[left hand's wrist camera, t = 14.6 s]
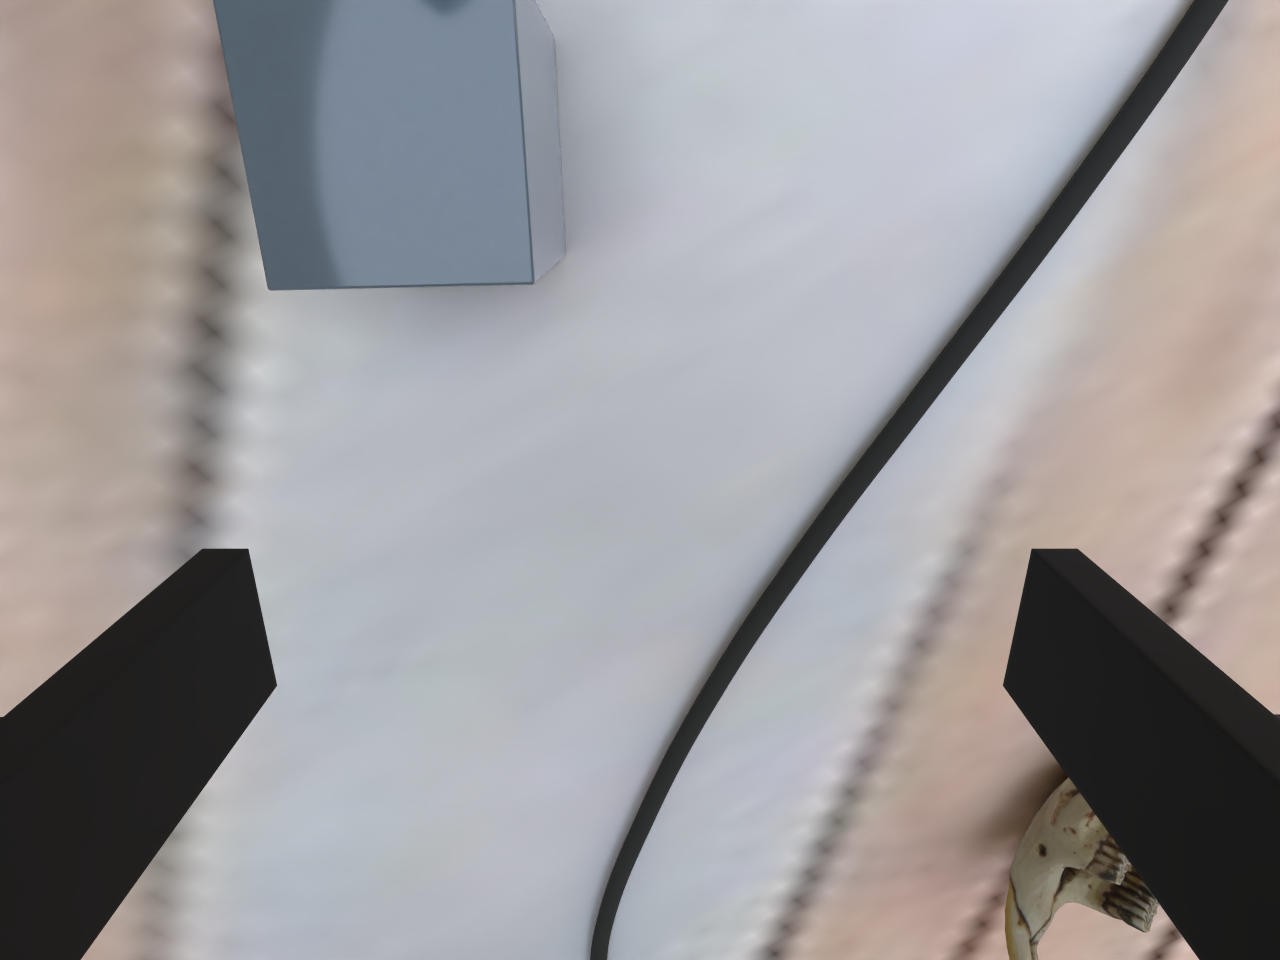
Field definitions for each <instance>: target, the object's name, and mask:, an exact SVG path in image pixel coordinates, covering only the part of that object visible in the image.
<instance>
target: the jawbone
mask: <svg viewBox="0 0 1280 960" xmlns="http://www.w3.org/2000/svg"><path fill="white" fill-rule="evenodd" d="M1069 902H1075V903H1080V904H1082V905H1085V906H1088V907H1090V908H1093V909H1095V910H1097V911H1099V912H1101V913H1104V914H1106V915H1108V916H1111V917H1113V918H1116V919H1120V920H1123V921H1124V922H1125V923H1127V924H1128V925H1130V926H1132V927H1134V928H1136V929H1138V930H1140V931H1142V932H1148V931H1150V927H1151V923H1152V920H1153V916H1154V915H1156V914H1157V909H1156V908H1157V907H1158V906H1160V904H1159V903H1158V901H1157V900H1156V898H1155V897H1154V896H1153V894H1152V893H1151V891H1150V890H1149V889H1148V887H1147V886H1146V884H1145V883H1144V882H1143V880H1142V879H1141V877H1140V876H1139V875H1138V873H1137V872H1136V870H1135V869H1134V868H1133V866H1132V865H1131V863H1130V862H1129V861H1128V859H1127V858H1126V857H1125V855H1124V854H1123V852H1122V851H1121V850H1120V848H1119V847H1118V845H1117V844H1116V843H1115V841H1114V840H1113V838H1112V837H1111V836H1110V834H1109V833H1108V831H1107V830H1106V829H1105V827H1104V826H1103V824H1102V823H1101V822H1100V820H1099V819H1098V817H1097V816H1096V815H1095V813H1094V812H1093V810H1092V809H1091V808H1090V806H1089V805H1088V803H1087V802H1086V801H1085V799H1084V798H1083V797H1082V795H1081V794H1080V792H1079V791H1078V790H1077V788H1076V787H1075V785H1074V784H1073V783H1072V781H1071V780H1070V778H1069V777H1068V778H1067V779H1066V780H1065V781H1064V782H1063V783H1062V784H1061V785H1060V786H1059V787H1058V788H1057V789H1056V790H1055V791H1054V792H1053V793H1052V794H1051V795H1050V796H1049V798H1048V799H1047V800H1046V802H1045V803H1044V804H1043V806H1042V807H1041V809H1040V810H1039V811H1038V813H1037V814H1036V816H1035V817H1034V819H1033V821H1032V822H1031V824H1030V826H1029V827H1028V829H1027V831H1026V833H1025V835H1024V837H1023V839H1022V841H1021V843H1020V845H1019V847H1018V850H1017V852H1016V855H1015V857H1014V859H1013V862H1012V865H1011V867H1010V879H1009V890H1008V896H1007V901H1006V907H1005V934H1006V942H1007V949H1008V954H1009V959H1010V960H1038V956H1037V945H1038V942H1039V940H1040V939H1041V938H1042V936H1043V935H1044V933H1045V932H1046V930H1047V928H1048V927H1049V925H1050V923H1051V921H1052V919H1053V917H1054V914H1055V913H1056V911H1057V910H1058V909H1059V908H1060V907H1061V906H1062V905H1064V904H1065V903H1069Z"/></svg>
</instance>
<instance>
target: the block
mask: <svg viewBox="0 0 1280 960" xmlns="http://www.w3.org/2000/svg"><path fill="white" fill-rule="evenodd" d="M213 2H214V7H215V13H216V18H217V23H218V28H219V34H220V39H221V44H222V49H223V55H224V60H225V65H226V71H227V76H228V81H229V86H230V92H231V97H232V102H233V107H234V113H235V118H236V123H237V128H238V134H239V139H240V144H241V149H242V155H243V160H244V165H245V170H246V176H247V181H248V186H249V191H250V197H251V202H252V207H253V212H254V218H255V223H256V228H257V234H258V239H259V244H260V249H261V255H262V260H263V265H264V270H265V276H266V281H267V286H268V289H269V290H271V291H277V290H321V289H364V288H408V287H452V286H495V285H532V284H534V283H535V282H536V281H538V280H539V279H540V278H541V277H542V276H543V275H544V274H545V273H546V272H547V271H549V270H550V269H551V268H552V267H553V266H554V265H555V264H556V263H557V262H559V261H560V260H561V259H562V258H563V257H564V256H565V255H566V248H565V229H564V211H563V192H562V174H561V155H560V137H559V118H558V100H557V81H556V63H555V44H554V35H553V33H552V31H551V29H550V28H549V26H548V24H547V22H546V20H545V18H544V16H543V14H542V12H541V11H540V9H539V7H538V5H537V3H536V1H535V0H213Z"/></svg>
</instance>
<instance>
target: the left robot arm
mask: <svg viewBox="0 0 1280 960" xmlns="http://www.w3.org/2000/svg"><path fill="white" fill-rule="evenodd" d="M1227 2H1228V0H1195V1H1194V2H1193V4H1192V5H1191V7H1190V8H1189V10H1188V12H1187V13H1186V15H1185V16H1184V18H1183V19H1182V21H1181V22H1180V24H1179V25H1178V27H1177V28H1176V30H1175V31H1174V33H1173V34H1172V36H1171V37H1170V39H1169V40H1168V42H1167V43H1166V45H1165V46H1164V48H1163V49H1162V51H1161V52H1160V54H1159V55H1158V57H1157V58H1156V59H1155V61H1154V62H1153V64H1152V65H1151V67H1150V68H1149V70H1148V71H1147V73H1146V74H1145V76H1144V77H1143V78H1142V80H1141V81H1140V83H1139V84H1138V86H1137V87H1136V89H1135V90H1134V91H1133V93H1132V94H1131V96H1130V97H1129V99H1128V100H1127V101H1126V103H1125V104H1124V106H1123V107H1122V109H1121V110H1120V111H1119V113H1118V114H1117V116H1116V117H1115V118H1114V120H1113V121H1112V123H1111V124H1110V125H1109V127H1108V128H1107V130H1106V131H1105V132H1104V134H1103V135H1102V137H1101V138H1100V139H1099V141H1098V142H1097V144H1096V145H1095V146H1094V148H1093V149H1092V151H1091V152H1090V153H1089V155H1088V156H1087V158H1086V159H1085V160H1084V162H1083V163H1082V165H1081V166H1080V167H1079V169H1078V170H1077V171H1076V173H1075V174H1074V176H1073V177H1072V178H1071V180H1070V181H1069V183H1068V184H1067V185H1066V187H1065V188H1064V190H1063V191H1062V192H1061V194H1060V195H1059V197H1058V198H1057V199H1056V201H1055V202H1054V203H1053V205H1052V206H1051V208H1050V209H1049V210H1048V212H1047V213H1046V214H1045V216H1044V217H1043V219H1042V220H1041V221H1040V223H1039V224H1038V225H1037V227H1036V228H1035V230H1034V231H1033V232H1032V234H1031V235H1030V236H1029V238H1028V239H1027V240H1026V242H1025V243H1024V244H1023V246H1022V247H1021V248H1020V250H1019V251H1018V252H1017V254H1016V255H1015V256H1014V258H1013V259H1012V260H1011V262H1010V263H1009V265H1008V266H1007V267H1006V268H1005V270H1004V271H1003V272H1002V274H1001V275H1000V276H999V278H998V279H997V280H996V282H995V283H994V284H993V286H992V287H991V288H990V290H989V291H988V292H987V294H986V295H985V296H984V297H983V299H982V300H981V301H980V303H979V304H978V305H977V307H976V308H975V309H974V311H973V312H972V313H971V314H970V316H969V317H968V318H967V320H966V321H965V322H964V324H963V325H962V326H961V328H960V329H959V330H958V331H957V333H956V334H955V335H954V337H953V338H952V339H951V341H950V342H949V343H948V345H947V346H946V347H945V348H944V350H943V351H942V352H941V354H940V355H939V356H938V358H937V359H936V360H935V362H934V363H933V364H932V366H931V367H930V368H929V370H928V371H927V372H926V374H925V375H924V376H923V378H922V379H921V380H920V382H919V383H918V384H917V386H916V387H915V388H914V390H913V391H912V392H911V394H910V395H909V396H908V398H907V399H906V400H905V402H904V403H903V404H902V405H901V407H900V408H899V409H898V411H897V412H896V413H895V415H894V416H893V417H892V419H891V420H890V421H889V423H888V424H887V425H886V427H885V428H884V429H883V430H882V432H881V433H880V434H879V436H878V437H877V438H876V440H875V441H874V442H873V444H872V445H871V446H870V448H869V449H868V450H867V451H866V453H865V454H864V455H863V457H862V458H861V459H860V461H859V462H858V463H857V465H856V466H855V467H854V469H853V470H852V471H851V473H850V474H849V475H848V477H847V478H846V479H845V481H844V482H843V483H842V485H841V486H840V487H839V489H838V490H837V491H836V493H835V494H834V495H833V497H832V498H831V499H830V501H829V502H828V503H827V505H826V506H825V508H824V509H823V510H822V512H821V513H820V514H819V516H818V517H817V519H816V520H815V521H814V523H813V524H812V525H811V527H810V528H809V530H808V531H807V532H806V534H805V535H804V537H803V538H802V540H801V541H800V542H799V544H798V545H797V547H796V548H795V549H794V551H793V552H792V554H791V555H790V557H789V558H788V559H787V561H786V562H785V564H784V565H783V566H782V568H781V569H780V571H779V572H778V574H777V575H776V576H775V578H774V579H773V581H772V582H771V584H770V585H769V586H768V588H767V589H766V591H765V592H764V594H763V595H762V597H761V598H760V599H759V601H758V602H757V604H756V605H755V607H754V608H753V610H752V611H751V613H750V614H749V616H748V617H747V619H746V620H745V622H744V623H743V625H742V626H741V628H740V629H739V631H738V632H737V634H736V635H735V637H734V639H733V640H732V642H731V643H730V645H729V646H728V648H727V650H726V651H725V653H724V654H723V656H722V658H721V659H720V661H719V662H718V664H717V666H716V667H715V669H714V671H713V672H712V674H711V676H710V677H709V679H708V681H707V682H706V684H705V686H704V687H703V689H702V691H701V692H700V694H699V696H698V697H697V699H696V701H695V703H694V704H693V706H692V708H691V709H690V711H689V713H688V715H687V716H686V718H685V720H684V722H683V724H682V725H681V727H680V729H679V731H678V732H677V734H676V736H675V738H674V740H673V742H672V744H671V745H670V747H669V749H668V751H667V753H666V755H665V757H664V759H663V761H662V763H661V765H660V767H659V769H658V771H657V773H656V775H655V777H654V779H653V781H652V783H651V785H650V787H649V790H648V792H647V794H646V796H645V798H644V800H643V802H642V805H641V807H640V809H639V811H638V813H637V816H636V818H635V820H634V822H633V824H632V827H631V829H630V831H629V833H628V835H627V838H626V840H625V842H624V844H623V847H622V849H621V851H620V854H619V856H618V858H617V861H616V863H615V866H614V868H613V871H612V873H611V876H610V879H609V882H608V884H607V887H606V890H605V893H604V897H603V900H602V903H601V907H600V910H599V914H598V918H597V922H596V926H595V930H594V935H593V941H592V947H591V958H590V960H607V953H608V945H609V939H610V934H611V929H612V926H613V922H614V918H615V915H616V912H617V908H618V905H619V902H620V899H621V896H622V894H623V891H624V888H625V886H626V883H627V880H628V878H629V876H630V873H631V871H632V868H633V866H634V864H635V862H636V859H637V857H638V855H639V853H640V850H641V848H642V846H643V844H644V842H645V840H646V837H647V835H648V833H649V831H650V829H651V827H652V825H653V822H654V820H655V818H656V816H657V814H658V812H659V810H660V808H661V806H662V803H663V801H664V799H665V797H666V795H667V793H668V791H669V789H670V787H671V785H672V783H673V781H674V779H675V777H676V775H677V773H678V771H679V769H680V767H681V766H682V764H683V762H684V760H685V758H686V756H687V754H688V753H689V751H690V749H691V747H692V745H693V744H694V742H695V740H696V738H697V737H698V735H699V733H700V731H701V730H702V728H703V726H704V725H705V723H706V721H707V719H708V718H709V716H710V714H711V713H712V711H713V709H714V708H715V706H716V704H717V703H718V701H719V699H720V698H721V696H722V695H723V693H724V691H725V690H726V688H727V686H728V685H729V683H730V681H731V680H732V678H733V677H734V675H735V673H736V672H737V670H738V669H739V667H740V666H741V664H742V662H743V661H744V659H745V658H746V656H747V655H748V653H749V652H750V650H751V649H752V647H753V646H754V644H755V643H756V641H757V640H758V638H759V637H760V635H761V634H762V632H763V631H764V629H765V628H766V626H767V625H768V623H769V622H770V620H771V619H772V618H773V616H774V615H775V613H776V612H777V610H778V609H779V608H780V606H781V605H782V603H783V602H784V600H785V599H786V598H787V596H788V595H789V593H790V592H791V591H792V589H793V588H794V586H795V585H796V584H797V582H798V581H799V579H800V578H801V577H802V575H803V574H804V572H805V571H806V570H807V568H808V567H809V566H810V564H811V563H812V561H813V560H814V559H815V557H816V556H817V554H818V553H819V552H820V550H821V549H822V547H823V546H824V545H825V543H826V542H827V541H828V539H829V538H830V536H831V535H832V534H833V532H834V531H835V530H836V528H837V527H838V526H839V524H840V523H841V522H842V520H843V519H844V518H845V516H846V515H847V514H848V512H849V511H850V510H851V508H852V507H853V506H854V504H855V503H856V502H857V500H858V499H859V498H860V496H861V495H862V494H863V492H864V491H865V490H866V489H867V487H868V486H869V485H870V483H871V482H872V481H873V479H874V478H875V477H876V476H877V474H878V473H879V472H880V470H881V469H882V468H883V466H884V465H885V464H886V463H887V461H888V460H889V459H890V457H891V456H892V455H893V454H894V452H895V451H896V450H897V448H898V447H899V446H900V445H901V443H902V442H903V441H904V439H905V438H906V437H907V436H908V434H909V433H910V432H911V430H912V429H913V428H914V427H915V425H916V424H917V423H918V421H919V420H920V419H921V417H922V416H923V415H924V414H925V412H926V411H927V410H928V408H929V407H930V406H931V404H932V403H933V402H934V401H935V399H936V398H937V397H938V395H939V394H940V393H941V391H942V390H943V389H944V387H945V386H946V385H947V384H948V382H949V381H950V380H951V378H952V377H953V376H954V374H955V373H956V372H957V371H958V369H959V368H960V367H961V365H962V364H963V363H964V361H965V360H966V359H967V358H968V356H969V355H970V354H971V352H972V351H973V350H974V349H975V347H976V346H977V345H978V343H979V342H980V341H981V340H982V338H983V337H984V336H985V334H986V333H987V332H988V331H989V329H990V328H991V327H992V325H993V324H994V323H995V322H996V320H997V319H998V318H999V316H1000V315H1001V314H1002V313H1003V311H1004V310H1005V309H1006V307H1007V306H1008V305H1009V304H1010V302H1011V301H1012V300H1013V298H1014V297H1015V296H1016V295H1017V293H1018V292H1019V291H1020V289H1021V288H1022V287H1023V286H1024V284H1025V283H1026V282H1027V280H1028V279H1029V278H1030V276H1031V275H1032V274H1033V272H1034V271H1035V270H1036V269H1037V267H1038V266H1039V265H1040V263H1041V262H1042V261H1043V259H1044V258H1045V257H1046V255H1047V254H1048V253H1049V251H1050V250H1051V249H1052V247H1053V246H1054V245H1055V243H1056V242H1057V241H1058V239H1059V238H1060V237H1061V235H1062V234H1063V233H1064V231H1065V230H1066V229H1067V227H1068V226H1069V225H1070V223H1071V222H1072V221H1073V219H1074V218H1075V216H1076V215H1077V214H1078V212H1079V211H1080V210H1081V208H1082V207H1083V206H1084V204H1085V203H1086V202H1087V200H1088V199H1089V197H1090V196H1091V195H1092V193H1093V192H1094V191H1095V189H1096V188H1097V186H1098V185H1099V184H1100V182H1101V181H1102V180H1103V178H1104V177H1105V176H1106V174H1107V173H1108V171H1109V170H1110V169H1111V167H1112V166H1113V165H1114V163H1115V162H1116V161H1117V159H1118V158H1119V156H1120V155H1121V154H1122V152H1123V151H1124V150H1125V148H1126V147H1127V145H1128V144H1129V143H1130V141H1131V140H1132V139H1133V137H1134V136H1135V134H1136V133H1137V132H1138V130H1139V129H1140V128H1141V126H1142V125H1143V123H1144V122H1145V121H1146V119H1147V118H1148V116H1149V115H1150V114H1151V112H1152V111H1153V109H1154V108H1155V107H1156V105H1157V104H1158V102H1159V101H1160V100H1161V98H1162V97H1163V95H1164V94H1165V93H1166V91H1167V90H1168V88H1169V87H1170V85H1171V84H1172V83H1173V81H1174V80H1175V78H1176V77H1177V75H1178V74H1179V73H1180V71H1181V70H1182V68H1183V67H1184V65H1185V64H1186V62H1187V61H1188V60H1189V58H1190V57H1191V55H1192V54H1193V52H1194V51H1195V49H1196V48H1197V46H1198V45H1199V43H1200V42H1201V41H1202V39H1203V38H1204V36H1205V35H1206V33H1207V32H1208V30H1209V29H1210V27H1211V26H1212V24H1213V23H1214V21H1215V20H1216V18H1217V17H1218V15H1219V14H1220V12H1221V11H1222V9H1223V8H1224V6H1225V5H1226V3H1227ZM276 686H277V683H276V678H275V674H274V669H273V664H272V659H271V655H270V650H269V645H268V640H267V636H266V631H265V626H264V621H263V617H262V612H261V607H260V602H259V598H258V593H257V588H256V583H255V578H254V574H253V569H252V564H251V559H250V555H249V550H248V549H202V550H200V551H199V552H198V553H197V554H196V555H195V556H193V557H192V558H191V559H190V560H189V561H187V562H186V563H185V564H184V565H183V566H182V567H180V568H179V569H178V570H177V571H176V572H174V573H173V574H172V575H171V576H170V577H169V578H167V579H166V580H165V581H164V582H163V583H161V584H160V585H159V586H158V587H157V588H156V589H154V590H153V591H152V592H151V593H150V594H148V595H147V596H146V597H145V598H144V599H142V600H141V601H140V602H139V603H138V604H137V605H135V606H134V607H133V608H132V609H131V610H129V611H128V612H127V613H126V614H125V615H124V616H122V617H121V618H120V619H119V620H118V621H116V622H115V623H114V624H113V625H112V626H111V627H109V628H108V629H107V630H106V631H105V632H103V633H102V634H101V635H100V636H99V637H98V638H96V639H95V640H94V641H93V642H92V643H90V644H89V645H88V646H87V647H86V648H84V649H83V650H82V651H81V652H80V653H79V654H77V655H76V656H75V657H74V658H73V659H71V660H70V661H69V662H68V663H67V664H66V665H64V666H63V667H62V668H61V669H60V670H58V671H57V672H56V673H55V674H54V675H53V676H51V677H50V678H49V679H48V680H47V681H45V682H44V683H43V684H42V685H41V686H40V687H38V688H37V689H36V690H35V691H34V692H32V693H31V694H30V695H29V696H28V697H27V698H25V699H24V700H23V701H22V702H21V703H19V704H18V705H17V706H16V707H15V708H13V709H12V710H11V711H10V712H9V713H8V714H6V715H5V716H4V717H0V960H81V958H82V957H83V956H84V954H85V953H86V951H87V950H88V949H89V947H90V946H91V944H92V943H93V942H94V940H95V939H96V937H97V936H98V935H99V933H100V932H101V930H102V929H103V928H104V926H105V925H106V923H107V922H108V921H109V919H110V918H111V916H112V915H113V914H114V912H115V911H116V910H117V908H118V907H119V905H120V904H121V903H122V901H123V900H124V898H125V897H126V896H127V894H128V893H129V891H130V890H131V889H132V887H133V886H134V884H135V883H136V882H137V880H138V879H139V877H140V876H141V875H142V873H143V872H144V870H145V869H146V868H147V866H148V865H149V863H150V862H151V861H152V859H153V858H154V857H155V855H156V854H157V852H158V851H159V850H160V848H161V847H162V845H163V844H164V843H165V841H166V840H167V838H168V837H169V836H170V834H171V833H172V831H173V830H174V829H175V827H176V826H177V824H178V823H179V822H180V820H181V819H182V817H183V816H184V815H185V813H186V812H187V810H188V809H189V808H190V806H191V805H192V803H193V802H194V801H195V799H196V798H197V797H198V795H199V794H200V792H201V791H202V790H203V788H204V787H205V785H206V784H207V783H208V781H209V780H210V778H211V777H212V776H213V774H214V773H215V771H216V770H217V769H218V767H219V766H220V764H221V763H222V762H223V760H224V759H225V757H226V756H227V755H228V753H229V752H230V750H231V749H232V748H233V746H234V745H235V744H236V742H237V741H238V739H239V738H240V737H241V735H242V734H243V732H244V731H245V730H246V728H247V727H248V725H249V724H250V723H251V721H252V720H253V718H254V717H255V716H256V714H257V713H258V711H259V710H260V709H261V707H262V706H263V704H264V703H265V702H266V700H267V699H268V697H269V696H270V695H271V693H272V692H273V690H274V689H275V688H276ZM1003 686H1004V688H1005V689H1006V690H1007V692H1008V693H1009V695H1010V696H1011V697H1012V699H1013V700H1014V702H1015V703H1016V704H1017V706H1018V707H1019V709H1020V710H1021V711H1022V713H1023V714H1024V716H1025V717H1026V718H1027V720H1028V721H1029V723H1030V724H1031V725H1032V727H1033V728H1034V730H1035V731H1036V732H1037V734H1038V735H1039V737H1040V738H1041V739H1042V741H1043V742H1044V744H1045V745H1046V746H1047V748H1048V749H1049V750H1050V752H1051V753H1052V755H1053V756H1054V757H1055V759H1056V760H1057V762H1058V763H1059V764H1060V766H1061V767H1062V769H1063V770H1064V771H1065V773H1066V774H1067V776H1068V777H1069V778H1070V780H1071V781H1072V783H1073V784H1074V785H1075V787H1076V788H1077V790H1078V791H1079V792H1080V794H1081V795H1082V797H1083V798H1084V799H1085V801H1086V802H1087V803H1088V805H1089V806H1090V808H1091V809H1092V810H1093V812H1094V813H1095V815H1096V816H1097V817H1098V819H1099V820H1100V822H1101V823H1102V824H1103V826H1104V827H1105V829H1106V830H1107V831H1108V833H1109V834H1110V836H1111V837H1112V838H1113V840H1114V841H1115V843H1116V844H1117V845H1118V847H1119V848H1120V850H1121V851H1122V852H1123V854H1124V855H1125V857H1126V858H1127V859H1128V861H1129V862H1130V863H1131V865H1132V866H1133V868H1134V869H1135V870H1136V872H1137V873H1138V875H1139V876H1140V877H1141V879H1142V880H1143V882H1144V883H1145V884H1146V886H1147V887H1148V889H1149V890H1150V891H1151V893H1152V894H1153V896H1154V897H1155V898H1156V900H1157V901H1158V903H1159V904H1160V905H1161V907H1162V908H1163V910H1164V911H1165V912H1166V914H1167V915H1168V917H1169V918H1170V919H1171V921H1172V922H1173V923H1174V925H1175V926H1176V928H1177V929H1178V930H1179V932H1180V933H1181V935H1182V936H1183V937H1184V939H1185V940H1186V942H1187V943H1188V944H1189V946H1190V947H1191V949H1192V950H1193V951H1194V953H1195V954H1196V956H1197V957H1198V958H1199V960H1280V715H1274V714H1272V713H1271V712H1270V711H1269V710H1268V709H1267V708H1265V707H1264V706H1263V705H1262V704H1261V703H1259V702H1258V701H1257V700H1256V699H1255V698H1253V697H1252V696H1251V695H1250V694H1249V693H1248V692H1246V691H1245V690H1244V689H1243V688H1242V687H1240V686H1239V685H1238V684H1237V683H1236V682H1235V681H1233V680H1232V679H1231V678H1230V677H1229V676H1227V675H1226V674H1225V673H1224V672H1223V671H1222V670H1220V669H1219V668H1218V667H1217V666H1216V665H1214V664H1213V663H1212V662H1211V661H1210V660H1209V659H1207V658H1206V657H1205V656H1204V655H1203V654H1201V653H1200V652H1199V651H1198V650H1197V649H1195V648H1194V647H1193V646H1192V645H1191V644H1190V643H1188V642H1187V641H1186V640H1185V639H1184V638H1182V637H1181V636H1180V635H1179V634H1178V633H1177V632H1175V631H1174V630H1173V629H1172V628H1171V627H1169V626H1168V625H1167V624H1166V623H1165V622H1164V621H1162V620H1161V619H1160V618H1159V617H1158V616H1156V615H1155V614H1154V613H1153V612H1152V611H1151V610H1149V609H1148V608H1147V607H1146V606H1145V605H1143V604H1142V603H1141V602H1140V601H1139V600H1138V599H1136V598H1135V597H1134V596H1133V595H1132V594H1130V593H1129V592H1128V591H1127V590H1126V589H1124V588H1123V587H1122V586H1121V585H1120V584H1119V583H1117V582H1116V581H1115V580H1114V579H1113V578H1111V577H1110V576H1109V575H1108V574H1107V573H1106V572H1104V571H1103V570H1102V569H1101V568H1100V567H1098V566H1097V565H1096V564H1095V563H1094V562H1093V561H1091V560H1090V559H1089V558H1088V557H1087V556H1085V555H1084V554H1083V553H1082V552H1081V551H1080V550H1078V549H1032V550H1031V555H1030V559H1029V564H1028V569H1027V574H1026V578H1025V583H1024V588H1023V593H1022V597H1021V602H1020V607H1019V612H1018V617H1017V621H1016V626H1015V631H1014V636H1013V640H1012V645H1011V650H1010V655H1009V659H1008V664H1007V669H1006V674H1005V678H1004V683H1003Z"/></svg>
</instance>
